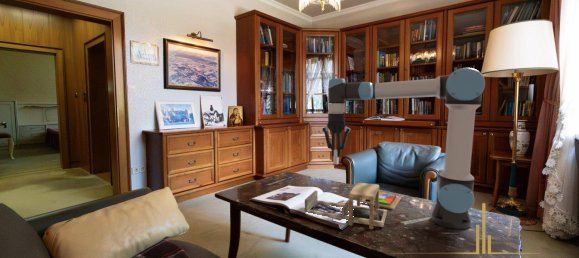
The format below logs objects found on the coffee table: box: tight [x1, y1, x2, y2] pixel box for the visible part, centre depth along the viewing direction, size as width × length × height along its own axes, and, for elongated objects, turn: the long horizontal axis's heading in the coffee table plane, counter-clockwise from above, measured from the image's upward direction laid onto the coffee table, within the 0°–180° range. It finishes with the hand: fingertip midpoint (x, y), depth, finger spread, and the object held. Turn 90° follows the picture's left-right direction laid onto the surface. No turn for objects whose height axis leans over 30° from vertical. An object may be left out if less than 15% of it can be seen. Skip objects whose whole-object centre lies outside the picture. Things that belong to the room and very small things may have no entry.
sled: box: [304, 190, 388, 228], centre depth 130 cm, size 35×15×7 cm, turn 65°
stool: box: [348, 182, 380, 230], centre depth 126 cm, size 10×18×14 cm, turn 155°
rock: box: [353, 208, 381, 221], centre depth 125 cm, size 9×11×6 cm
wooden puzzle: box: [360, 191, 403, 211], centre depth 149 cm, size 18×19×4 cm
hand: (336, 163), depth 130 cm, fingers closed
